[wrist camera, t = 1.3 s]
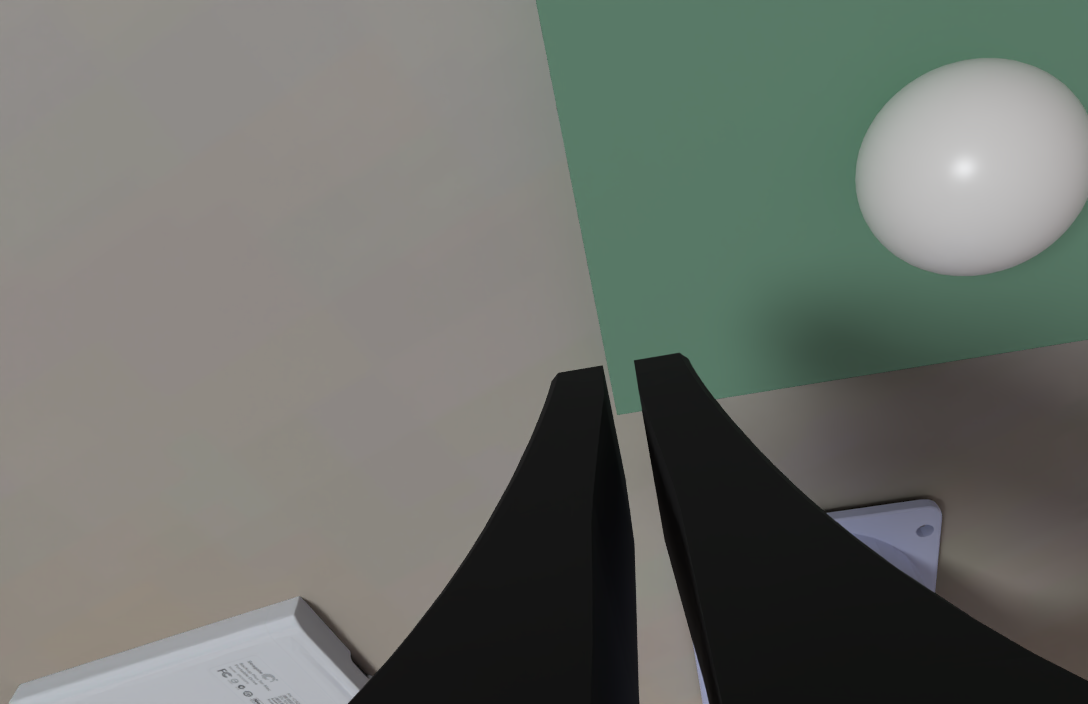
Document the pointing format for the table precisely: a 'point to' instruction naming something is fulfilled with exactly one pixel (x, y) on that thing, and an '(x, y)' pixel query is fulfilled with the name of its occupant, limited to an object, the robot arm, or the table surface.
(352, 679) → the external hard drive
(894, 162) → the ball
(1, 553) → the table surface
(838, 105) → the putting deck
